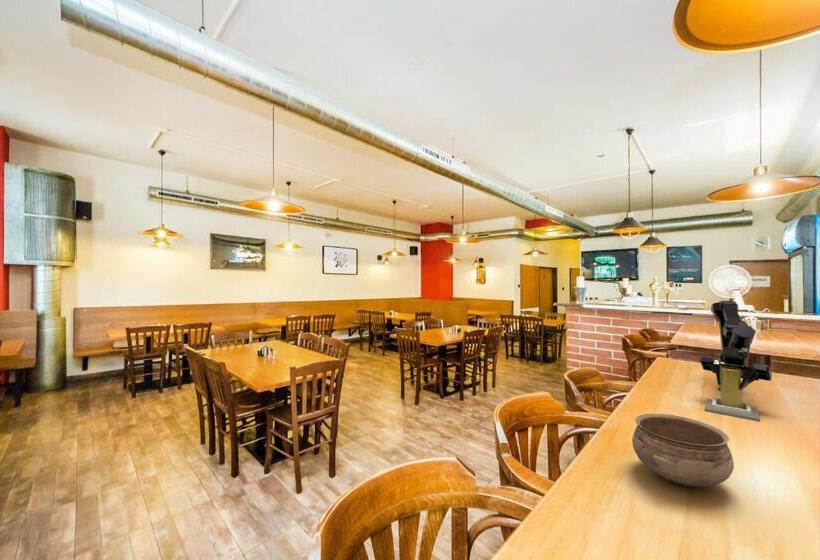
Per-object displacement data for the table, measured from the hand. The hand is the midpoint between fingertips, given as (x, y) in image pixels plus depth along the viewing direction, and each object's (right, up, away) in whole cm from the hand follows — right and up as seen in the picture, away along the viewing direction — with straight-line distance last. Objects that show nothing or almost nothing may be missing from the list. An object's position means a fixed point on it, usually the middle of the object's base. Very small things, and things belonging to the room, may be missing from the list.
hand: (729, 387), depth 124 cm
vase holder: (+1, -9, +1) cm, 9 cm away
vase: (+1, -8, +1) cm, 8 cm away
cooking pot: (-50, -9, -42) cm, 66 cm away
